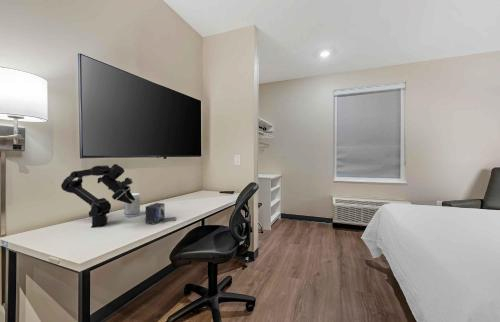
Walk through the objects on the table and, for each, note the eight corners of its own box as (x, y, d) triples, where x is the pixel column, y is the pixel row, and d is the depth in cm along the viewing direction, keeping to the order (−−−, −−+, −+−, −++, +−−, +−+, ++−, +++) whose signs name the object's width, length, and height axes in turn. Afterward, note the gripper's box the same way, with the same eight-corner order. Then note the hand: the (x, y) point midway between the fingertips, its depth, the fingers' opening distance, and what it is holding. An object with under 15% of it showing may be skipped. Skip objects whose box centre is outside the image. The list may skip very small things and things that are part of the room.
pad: (162, 222, 127) (162, 221, 127) (162, 218, 134) (162, 218, 134) (176, 220, 130) (176, 220, 130) (175, 217, 137) (175, 217, 137)
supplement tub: (123, 215, 141) (123, 193, 141) (138, 213, 147) (138, 192, 147) (124, 218, 134) (124, 196, 133) (141, 216, 139) (141, 194, 139)
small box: (154, 224, 122) (154, 207, 121) (144, 224, 123) (144, 206, 123) (165, 219, 132) (165, 203, 132) (156, 218, 133) (156, 202, 133)
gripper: (119, 175, 112) (141, 194, 116) (127, 172, 129) (145, 189, 133) (102, 189, 109) (125, 209, 113) (112, 184, 127) (131, 201, 131)
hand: (133, 201), depth 123 cm, fingers open, 9 cm apart
